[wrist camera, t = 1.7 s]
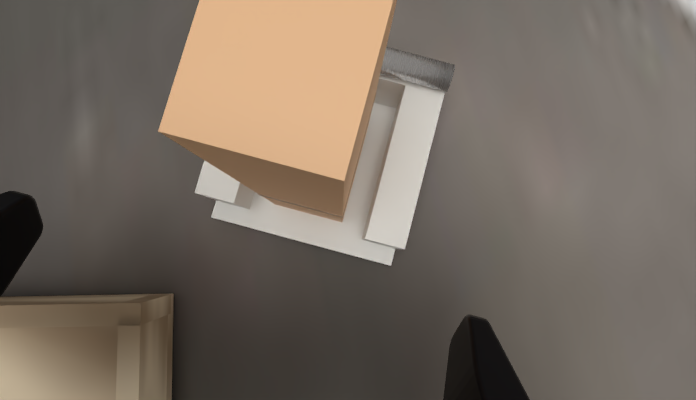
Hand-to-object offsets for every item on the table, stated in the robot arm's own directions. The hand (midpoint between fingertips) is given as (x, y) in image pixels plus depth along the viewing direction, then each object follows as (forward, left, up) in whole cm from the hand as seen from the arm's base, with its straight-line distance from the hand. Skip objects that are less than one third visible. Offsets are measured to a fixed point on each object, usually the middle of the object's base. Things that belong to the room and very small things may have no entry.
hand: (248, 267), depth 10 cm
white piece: (+4, -1, -11) cm, 12 cm away
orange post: (+4, -1, -11) cm, 11 cm away
